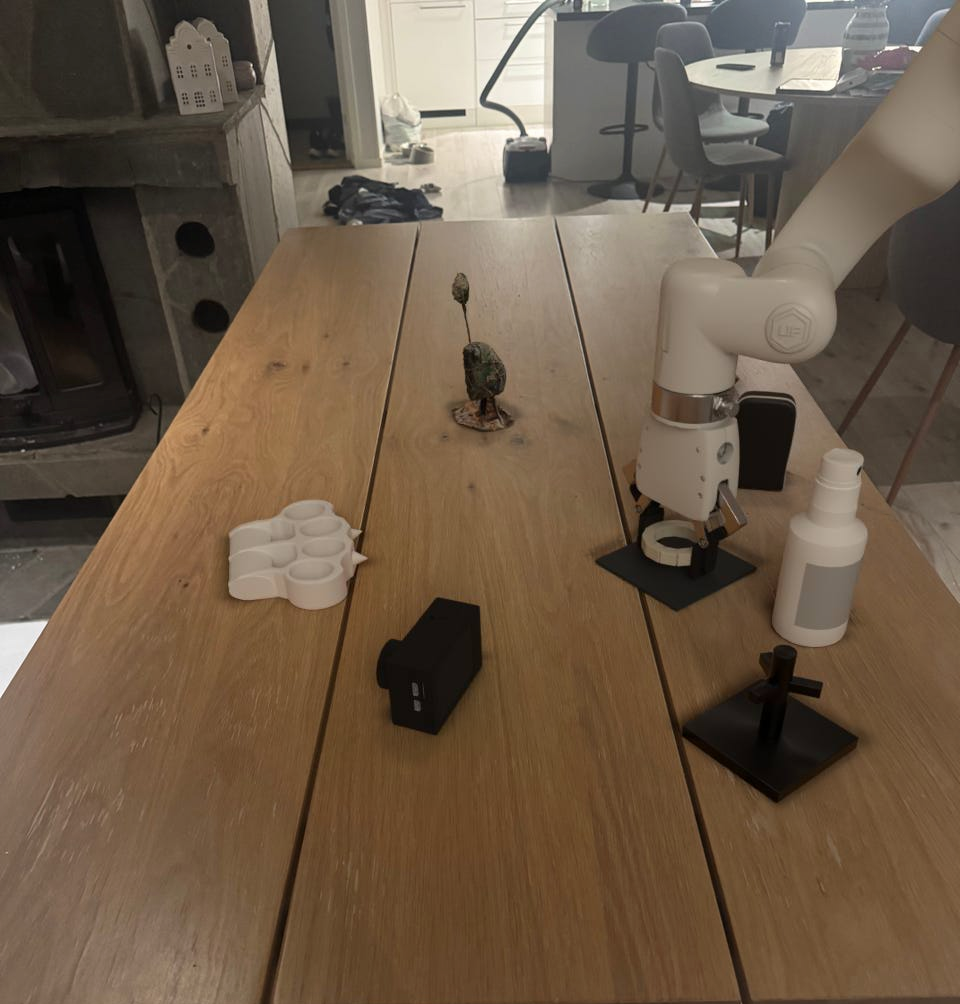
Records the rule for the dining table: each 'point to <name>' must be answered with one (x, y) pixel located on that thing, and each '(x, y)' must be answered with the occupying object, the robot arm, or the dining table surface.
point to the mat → (673, 573)
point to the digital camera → (432, 665)
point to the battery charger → (765, 438)
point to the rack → (772, 730)
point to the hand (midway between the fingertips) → (674, 557)
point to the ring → (665, 553)
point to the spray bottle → (822, 556)
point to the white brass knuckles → (294, 556)
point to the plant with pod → (480, 376)
